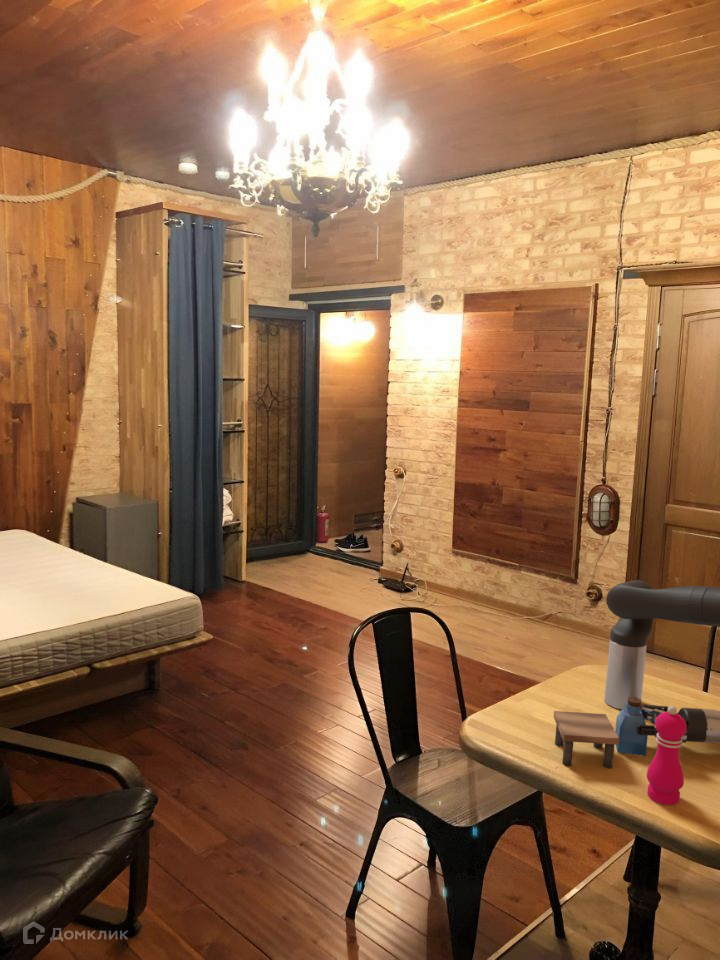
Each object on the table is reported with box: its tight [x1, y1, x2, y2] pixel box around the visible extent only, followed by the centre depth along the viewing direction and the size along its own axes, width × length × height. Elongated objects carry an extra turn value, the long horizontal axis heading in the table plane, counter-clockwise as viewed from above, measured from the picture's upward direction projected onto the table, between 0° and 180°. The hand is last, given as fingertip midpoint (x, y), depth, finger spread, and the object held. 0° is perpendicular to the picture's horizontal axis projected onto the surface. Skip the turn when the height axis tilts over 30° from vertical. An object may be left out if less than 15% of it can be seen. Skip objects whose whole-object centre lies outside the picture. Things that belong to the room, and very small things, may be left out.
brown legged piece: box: [553, 710, 619, 770], centre depth 179 cm, size 12×12×8 cm
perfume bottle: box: [614, 697, 648, 757], centre depth 183 cm, size 6×6×12 cm
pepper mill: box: [646, 705, 686, 806], centre depth 162 cm, size 7×7×20 cm
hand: (632, 721), depth 183 cm, fingers open, 8 cm apart
